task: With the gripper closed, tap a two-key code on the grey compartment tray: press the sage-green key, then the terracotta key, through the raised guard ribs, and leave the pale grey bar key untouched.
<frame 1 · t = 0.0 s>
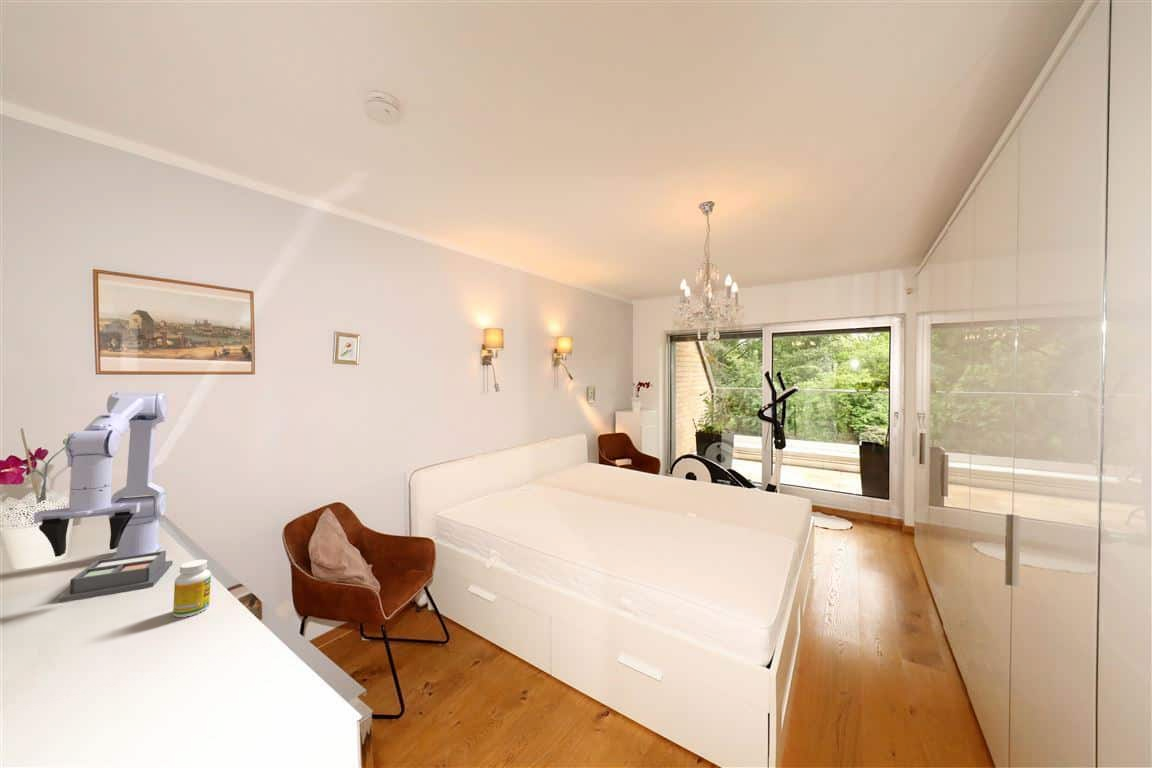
hand: (87, 551, 85), 10 cm above the table, tool pointing down, fingers open, 7 cm apart
green key: (98, 576, 90), point 3 cm above the table, slide at 0.0 cm
space bar: (126, 565, 96), point 3 cm above the table, slide at 0.0 cm
terracotta key: (134, 571, 93), point 3 cm above the table, slide at 0.0 cm
supplement bottle: (191, 612, 81), on the table
grey compartment tray: (121, 581, 93), on the table
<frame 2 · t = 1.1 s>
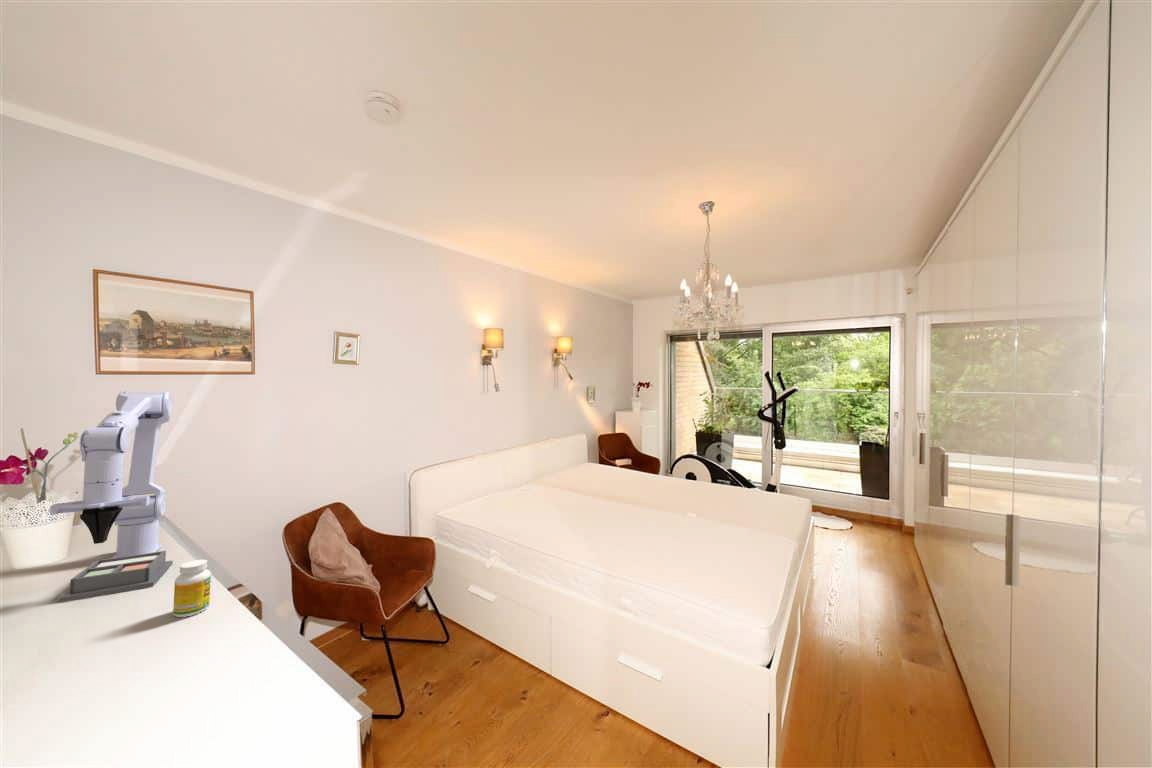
hand: (100, 542, 90), 10 cm above the table, tool pointing down, fingers closed
nothing on the table moved.
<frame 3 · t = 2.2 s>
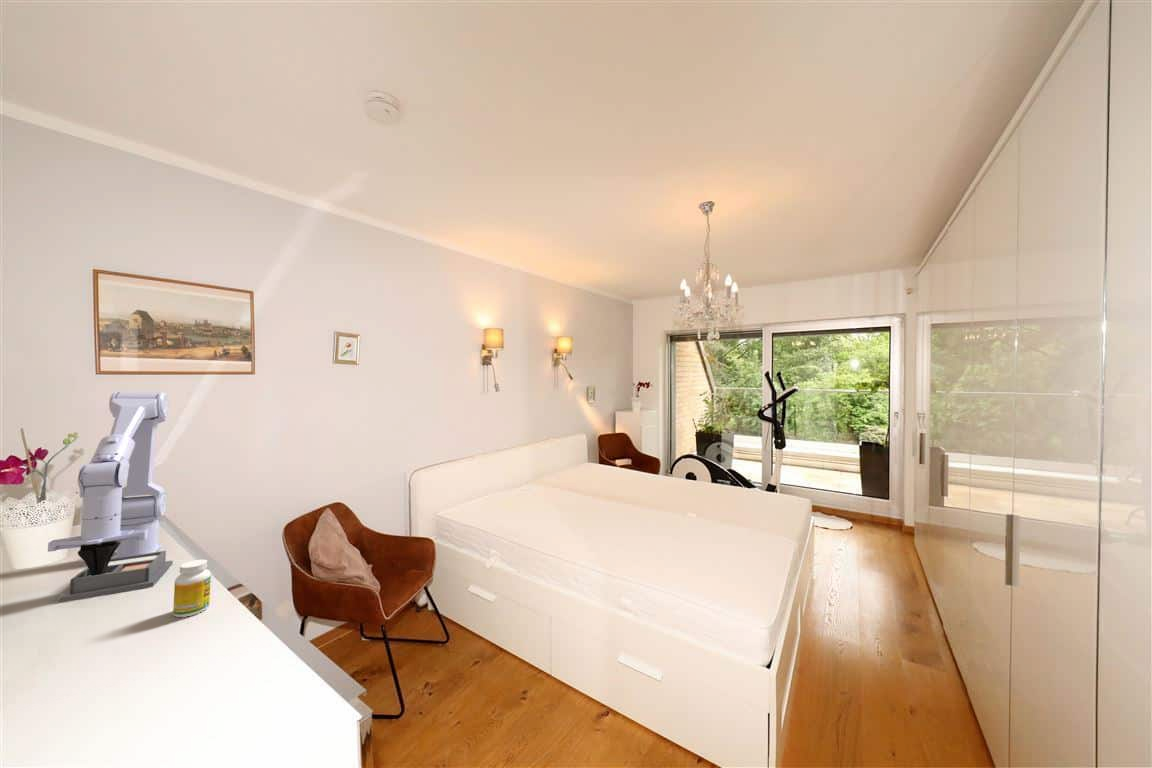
hand: (98, 577, 90), 3 cm above the table, tool pointing down, fingers closed, pressing on green key
green key: (98, 580, 90), point 2 cm above the table, slide at 0.8 cm, touching gripper
everything else where it was.
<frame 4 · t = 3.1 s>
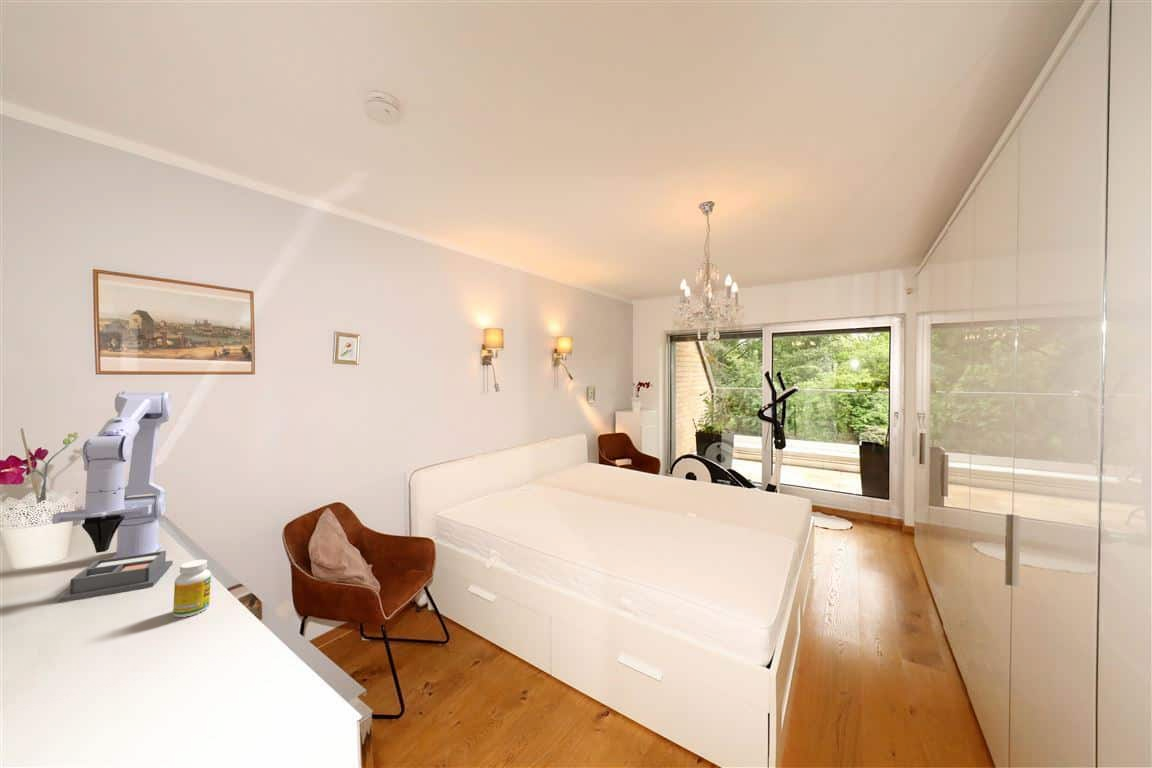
hand: (102, 550, 90), 8 cm above the table, tool pointing down, fingers closed
green key: (98, 580, 90), point 2 cm above the table, slide at 0.8 cm
everything else where it was.
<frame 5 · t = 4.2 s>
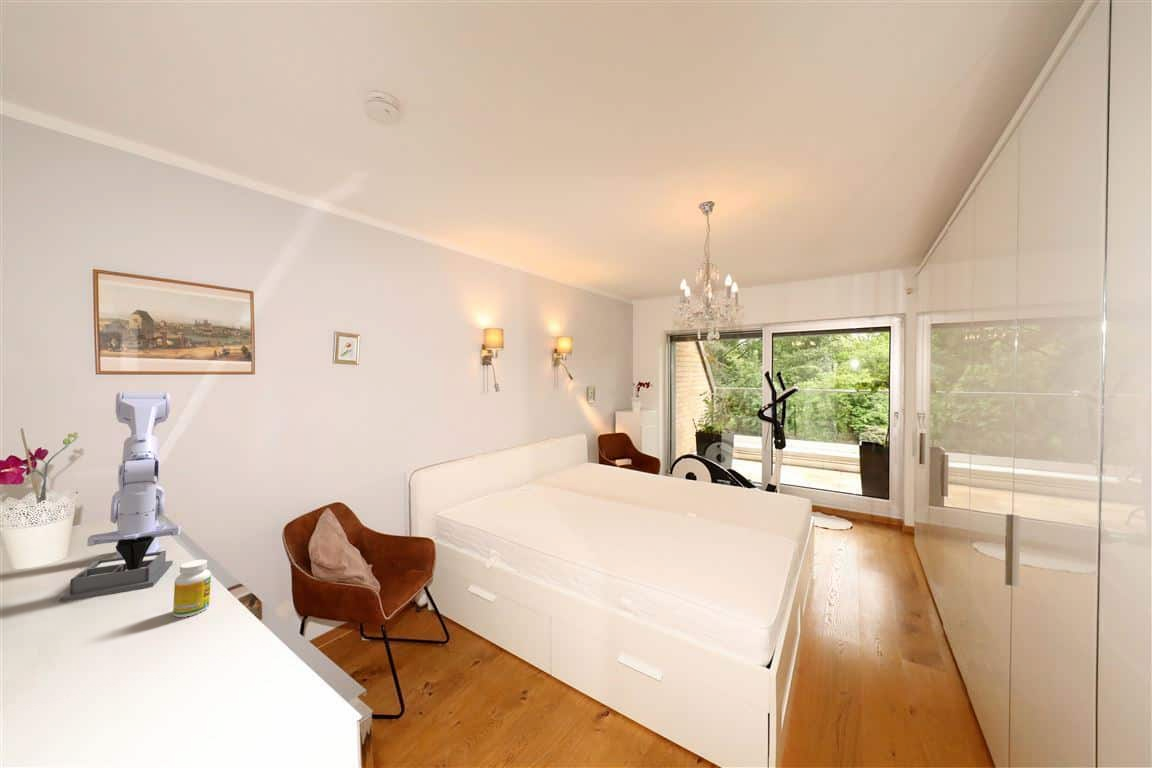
hand: (134, 571, 93), 3 cm above the table, tool pointing down, fingers closed, pressing on terracotta key
terracotta key: (134, 574, 93), point 2 cm above the table, slide at 0.7 cm, touching gripper
everything else where it was.
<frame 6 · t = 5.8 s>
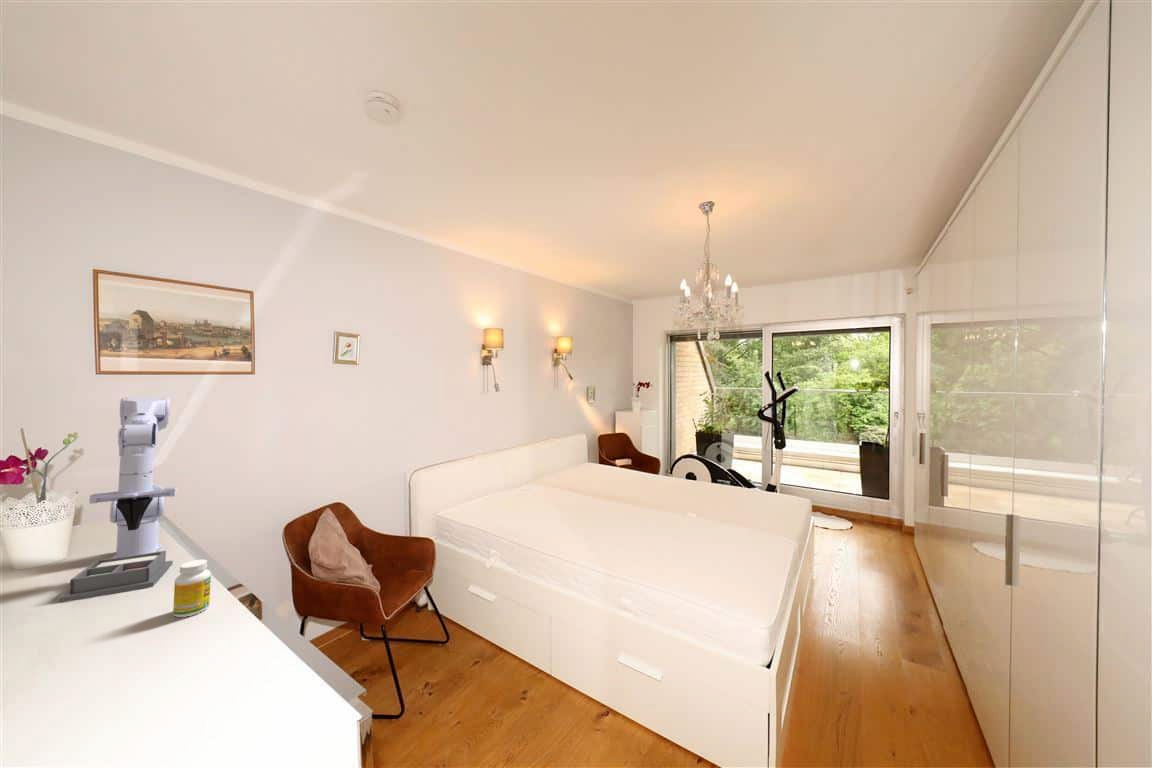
hand: (133, 529, 98), 10 cm above the table, tool pointing down, fingers closed
terracotta key: (134, 574, 93), point 2 cm above the table, slide at 0.8 cm
everything else where it was.
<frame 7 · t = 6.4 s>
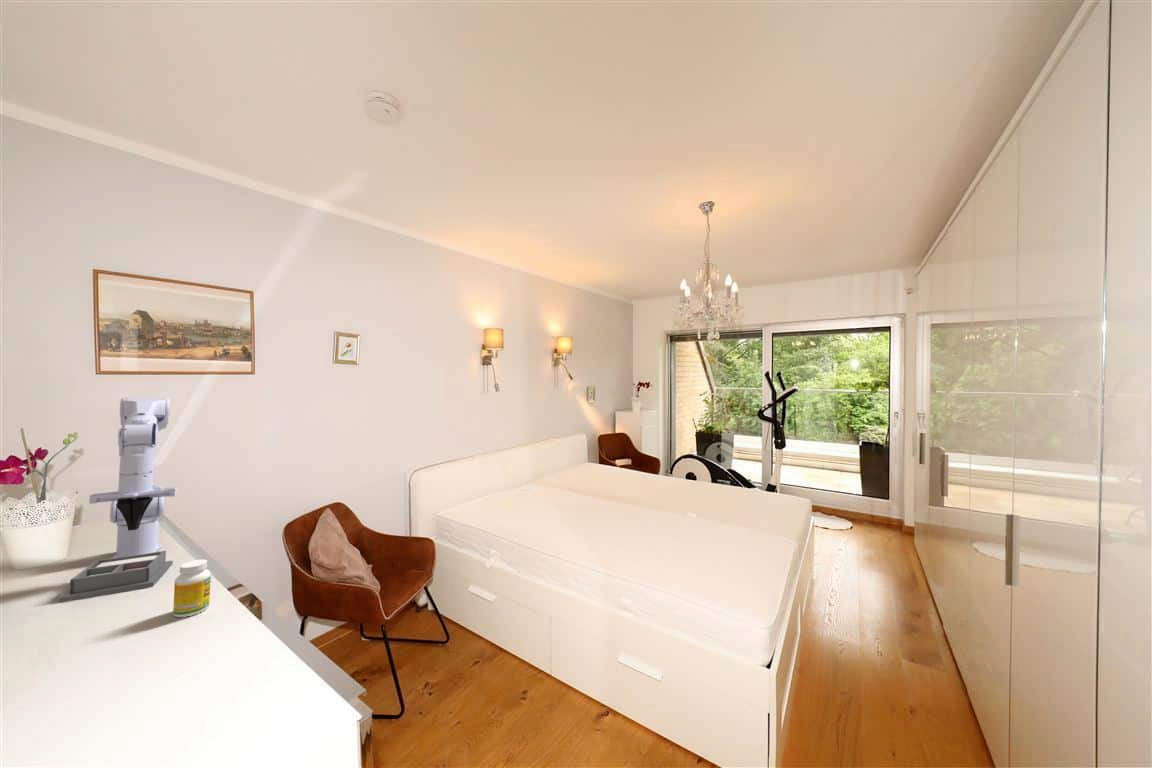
hand: (133, 529, 98), 10 cm above the table, tool pointing down, fingers closed
nothing on the table moved.
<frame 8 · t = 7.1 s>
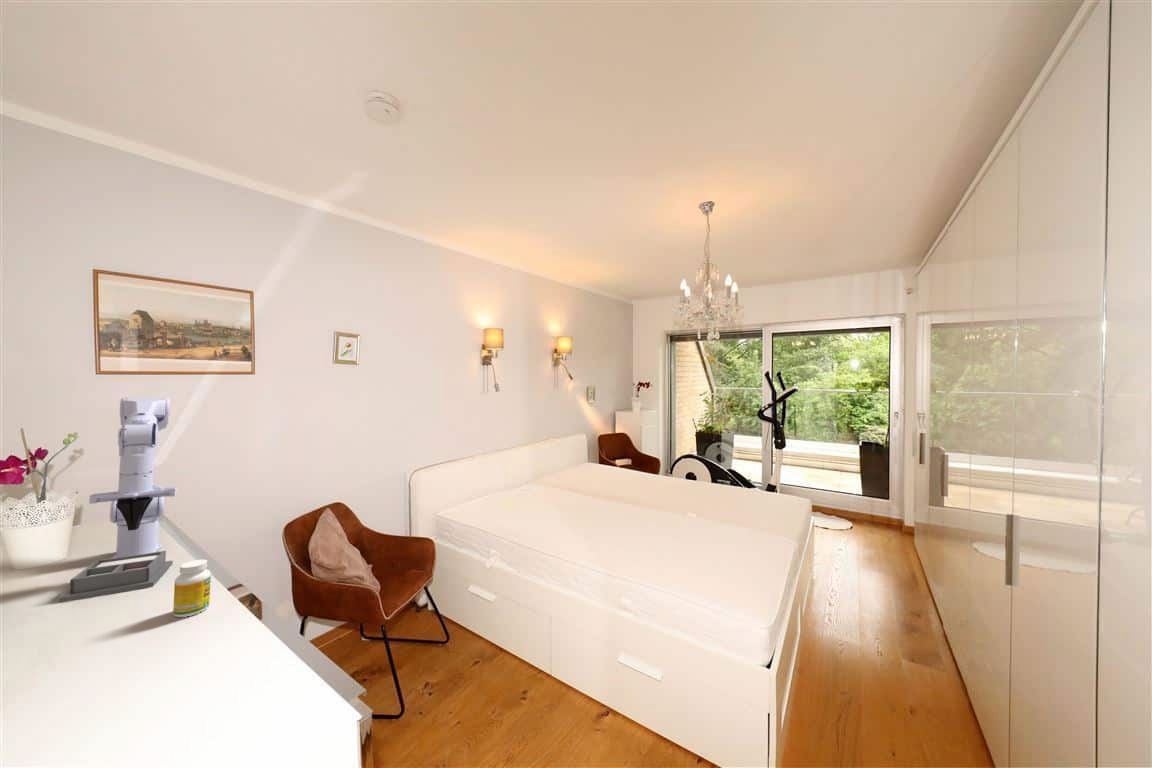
hand: (133, 529, 98), 10 cm above the table, tool pointing down, fingers closed
nothing on the table moved.
at the end: green key slide at 0.8 cm; terracotta key slide at 0.8 cm; space bar slide at 0.0 cm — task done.
